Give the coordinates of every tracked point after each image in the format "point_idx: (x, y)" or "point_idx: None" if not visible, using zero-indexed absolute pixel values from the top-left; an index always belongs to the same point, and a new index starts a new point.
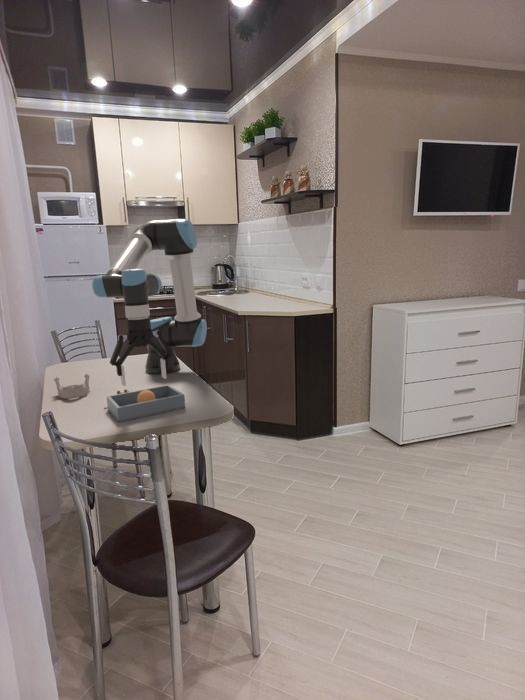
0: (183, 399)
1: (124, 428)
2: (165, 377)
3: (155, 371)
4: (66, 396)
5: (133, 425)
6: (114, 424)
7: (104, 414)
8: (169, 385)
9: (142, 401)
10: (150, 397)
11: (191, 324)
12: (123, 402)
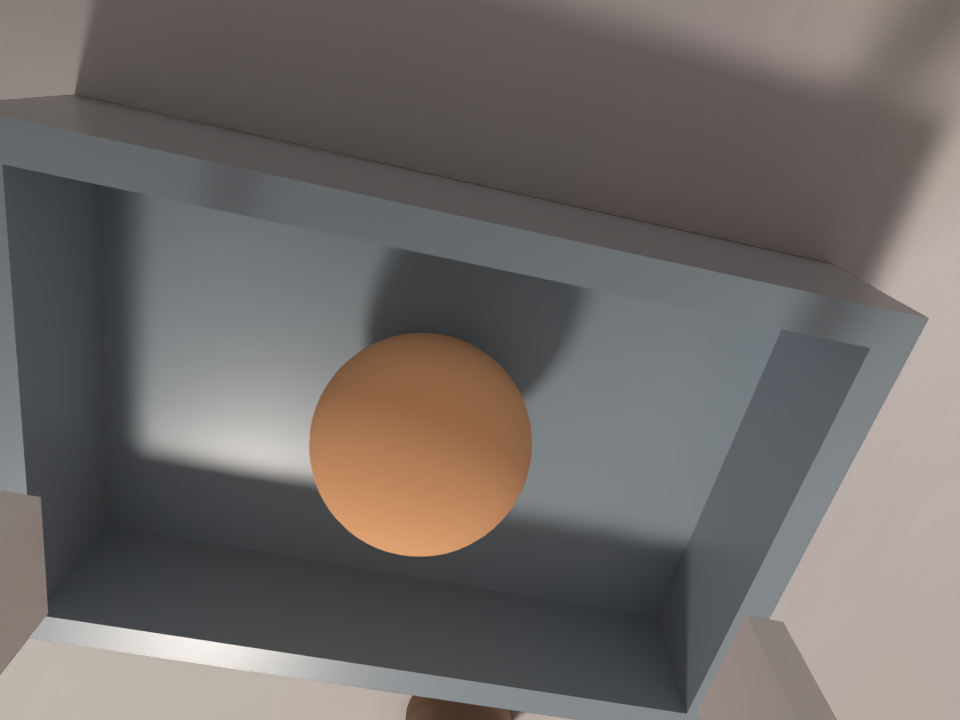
0: (17, 103)
1: (929, 33)
2: (2, 508)
3: None
4: None
5: (812, 39)
6: (895, 242)
7: None
8: None
9: (511, 384)
10: (410, 367)
11: None
12: (552, 620)
